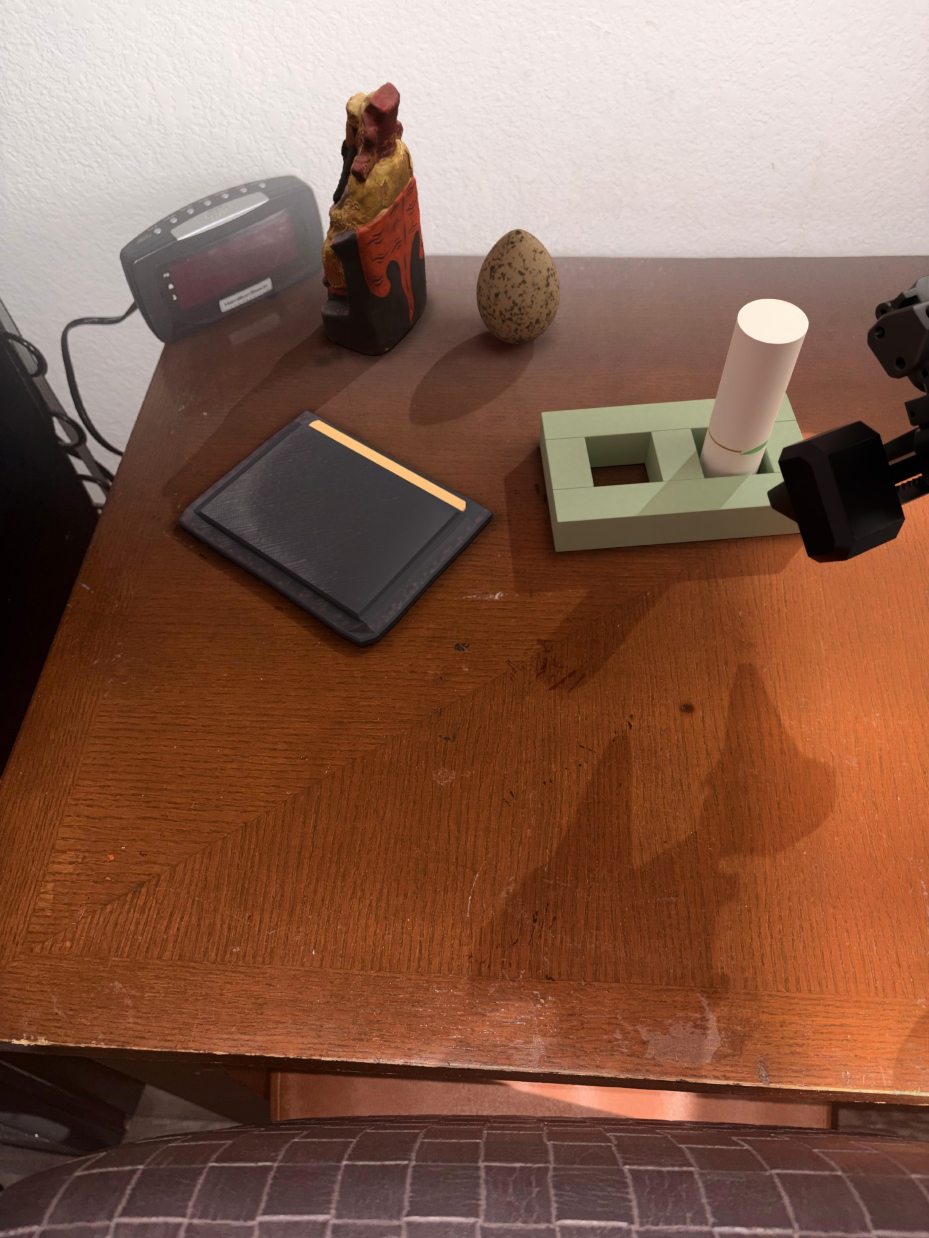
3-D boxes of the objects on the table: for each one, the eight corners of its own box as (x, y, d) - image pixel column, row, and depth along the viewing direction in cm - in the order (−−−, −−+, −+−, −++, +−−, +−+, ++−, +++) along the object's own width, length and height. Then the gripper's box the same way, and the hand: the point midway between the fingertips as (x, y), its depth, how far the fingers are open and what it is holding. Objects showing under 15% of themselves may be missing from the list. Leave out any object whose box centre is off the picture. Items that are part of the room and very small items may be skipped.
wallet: (166, 507, 64) (307, 394, 70) (175, 522, 66) (312, 411, 72) (357, 644, 57) (497, 505, 63) (362, 658, 58) (498, 521, 64)
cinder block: (539, 444, 68) (540, 411, 65) (774, 425, 68) (786, 392, 65) (555, 552, 62) (557, 522, 59) (813, 532, 62) (827, 501, 59)
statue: (374, 275, 81) (337, 45, 65) (444, 299, 79) (425, 66, 62) (299, 351, 76) (238, 120, 59) (372, 379, 74) (330, 147, 57)
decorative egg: (472, 359, 74) (467, 256, 66) (484, 307, 78) (480, 204, 70) (553, 364, 73) (558, 261, 65) (561, 311, 77) (567, 208, 69)
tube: (694, 502, 64) (738, 341, 52) (694, 460, 67) (736, 297, 54) (752, 506, 64) (811, 345, 51) (750, 465, 66) (806, 300, 53)
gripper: (1173, 193, 39) (903, 310, 54) (872, 293, 34) (664, 392, 49) (1231, 423, 40) (951, 476, 55) (949, 555, 35) (723, 574, 50)
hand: (829, 475), depth 52 cm, fingers open, 9 cm apart
